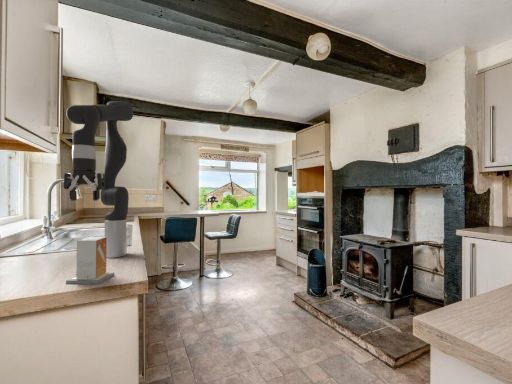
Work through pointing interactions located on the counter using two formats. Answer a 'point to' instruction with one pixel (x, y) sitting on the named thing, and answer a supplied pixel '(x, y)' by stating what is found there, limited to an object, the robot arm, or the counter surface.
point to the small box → (91, 257)
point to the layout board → (90, 281)
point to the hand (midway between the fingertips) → (84, 200)
